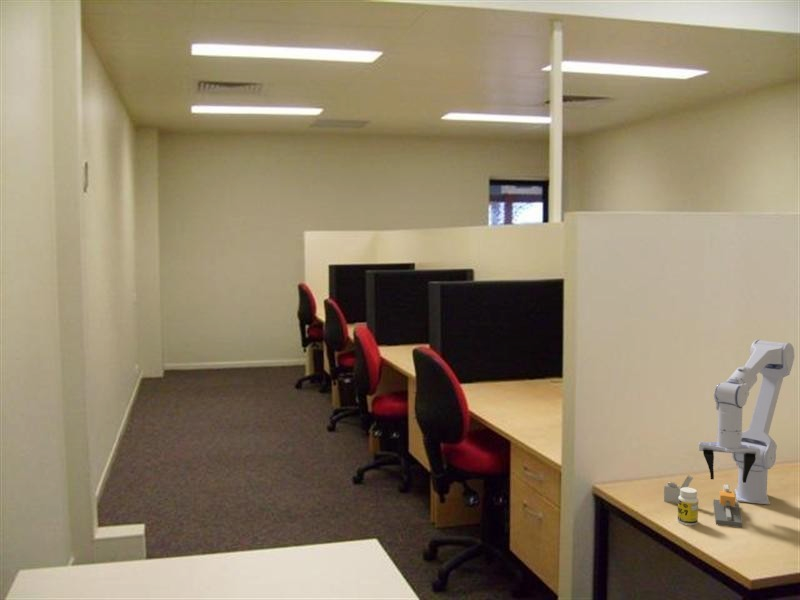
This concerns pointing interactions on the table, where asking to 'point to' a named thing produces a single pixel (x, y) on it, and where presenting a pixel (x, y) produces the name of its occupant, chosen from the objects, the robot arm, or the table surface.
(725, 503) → the orange cube with peg
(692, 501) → the supplement bottle
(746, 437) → the robot arm
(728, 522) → the linear slider rail
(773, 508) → the table surface
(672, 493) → the lighter
